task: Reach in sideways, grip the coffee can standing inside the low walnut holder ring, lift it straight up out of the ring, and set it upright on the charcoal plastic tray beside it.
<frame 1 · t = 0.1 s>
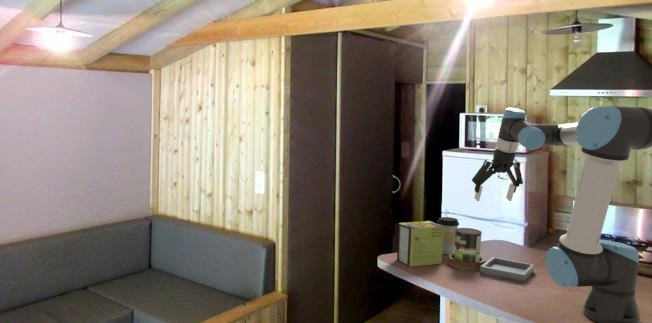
hand: (492, 199, 196), 28 cm above the countertop, tool tilted 20°, fingers open, 13 cm apart
coffee cup: (446, 253, 221), on the countertop
protein box: (419, 262, 206), on the countertop
coffee can: (466, 265, 203), resting in holder ring
tray: (507, 273, 194), on the countertop
holder ring: (466, 264, 203), on the countertop
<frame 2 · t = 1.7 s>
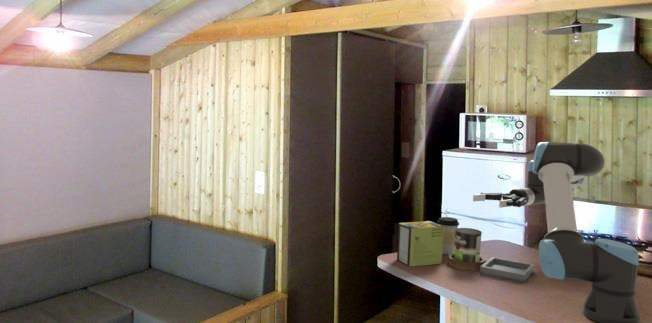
hand: (486, 201, 205), 26 cm above the countertop, tool horizontal, fingers open, 13 cm apart
nothing on the countertop moved.
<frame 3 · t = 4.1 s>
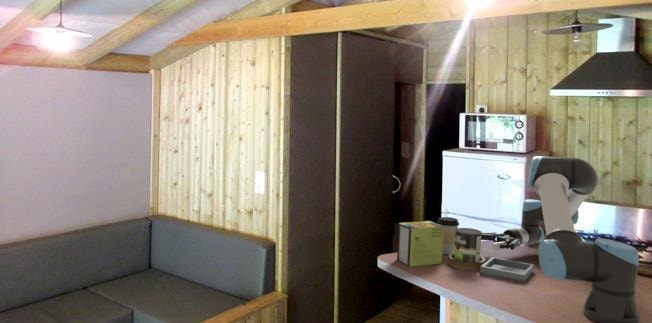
hand: (480, 242, 207), 8 cm above the countertop, tool horizontal, fingers open, 13 cm apart
nothing on the countertop moved.
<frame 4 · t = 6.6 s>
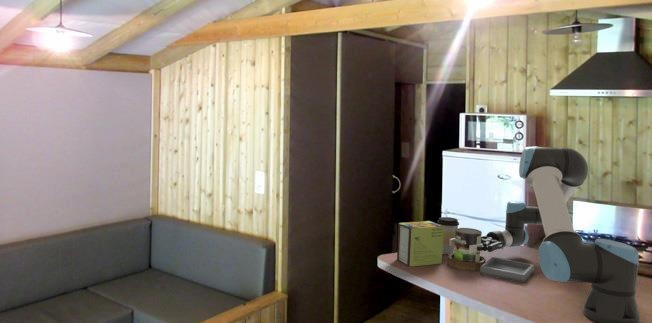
hand: (459, 245, 200), 8 cm above the countertop, tool horizontal, fingers closed on coffee can, 10 cm apart
coffee can: (466, 265, 203), resting in holder ring, touching gripper
everything else where it was.
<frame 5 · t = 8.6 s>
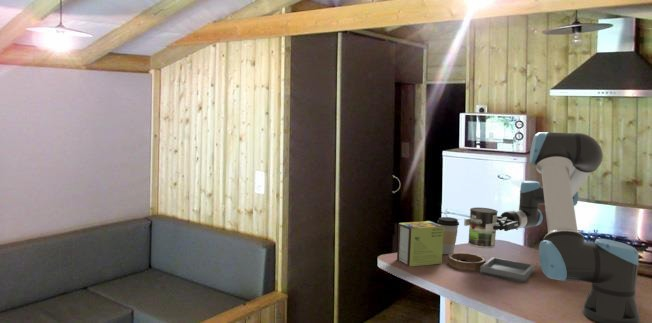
hand: (475, 225, 196), 18 cm above the countertop, tool horizontal, fingers closed on coffee can, 10 cm apart
coffee can: (481, 245, 199), point 9 cm above the countertop, touching gripper
everything else where it was.
when the fingers open (11 cm above the countertop, at t = 11.1 s): coffee can drops 2 cm, resting on tray.
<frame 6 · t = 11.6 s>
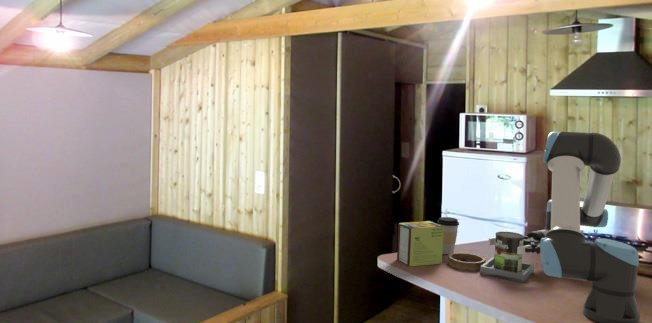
hand: (503, 246, 192), 11 cm above the countertop, tool horizontal, fingers open, 13 cm apart
coffee can: (507, 271, 194), point 1 cm above the countertop, touching tray
everything else where it was.
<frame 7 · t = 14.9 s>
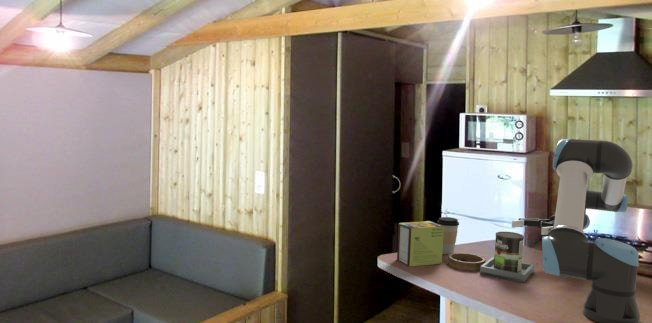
hand: (526, 227, 198), 17 cm above the countertop, tool horizontal, fingers open, 13 cm apart
nothing on the countertop moved.
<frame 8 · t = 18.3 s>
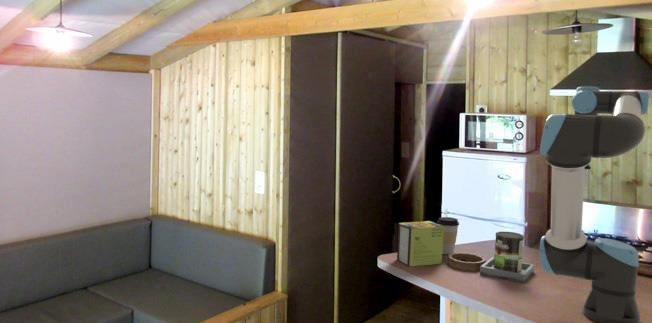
hand: (579, 188, 184), 35 cm above the countertop, tool pointing down, fingers open, 13 cm apart
nothing on the countertop moved.
at the end: coffee can inside the target area on the tray (0.1 cm from its centre), point 0.8 cm above the tray's base; coffee can tilted 0°; the gripper is holding nothing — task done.
